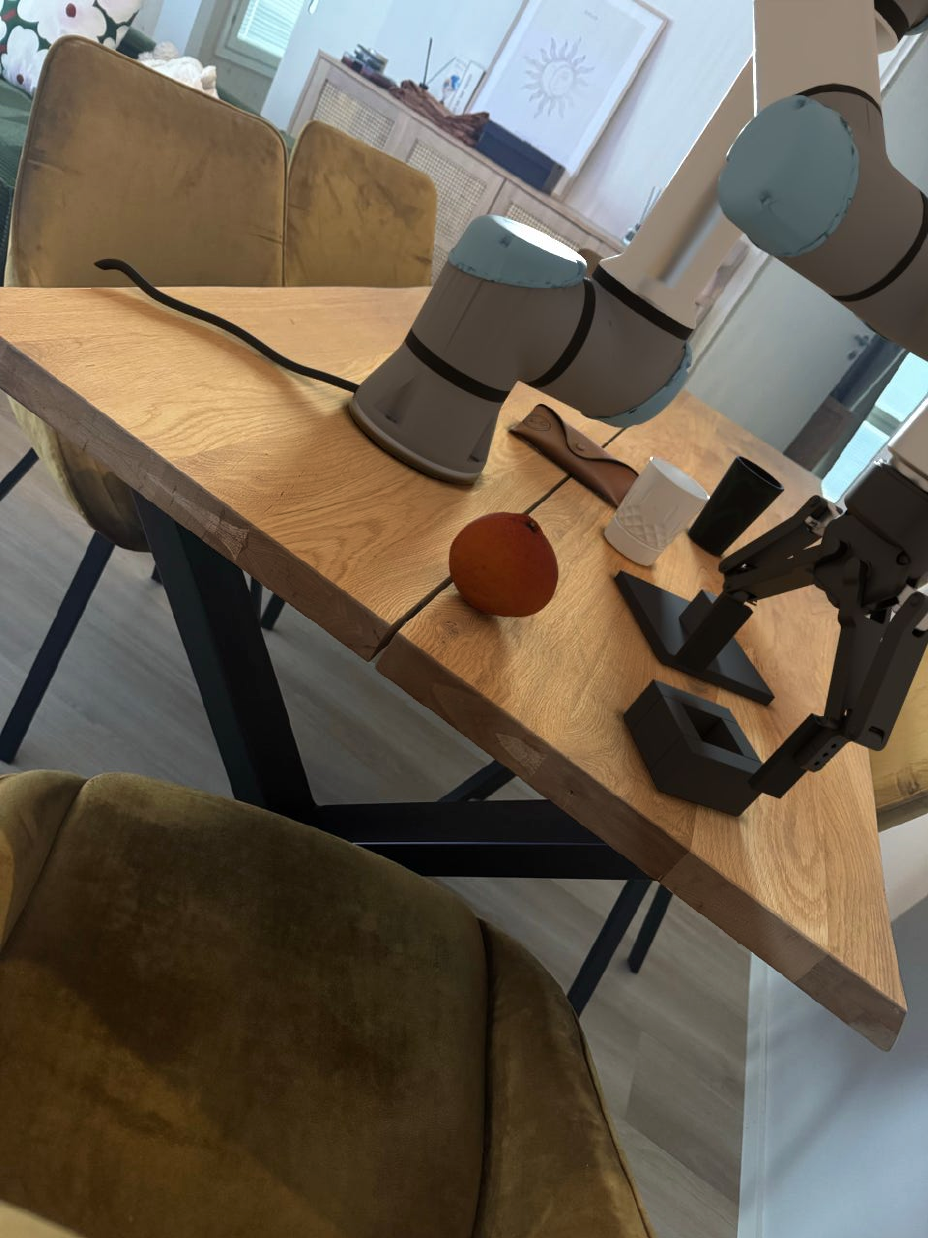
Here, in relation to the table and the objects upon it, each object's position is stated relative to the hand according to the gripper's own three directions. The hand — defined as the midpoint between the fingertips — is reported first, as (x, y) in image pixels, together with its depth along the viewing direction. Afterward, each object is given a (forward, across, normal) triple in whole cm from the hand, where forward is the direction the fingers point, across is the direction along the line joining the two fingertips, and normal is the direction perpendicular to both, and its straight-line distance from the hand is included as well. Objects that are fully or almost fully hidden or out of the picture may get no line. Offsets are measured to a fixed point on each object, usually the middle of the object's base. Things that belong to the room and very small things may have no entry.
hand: (721, 723), depth 67 cm
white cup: (+4, +39, -11) cm, 41 cm away
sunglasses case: (+4, +59, -9) cm, 59 cm away
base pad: (+5, +22, -12) cm, 26 cm away
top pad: (+5, 0, 0) cm, 5 cm away
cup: (+4, +54, -31) cm, 63 cm away
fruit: (+5, +13, +15) cm, 21 cm away
